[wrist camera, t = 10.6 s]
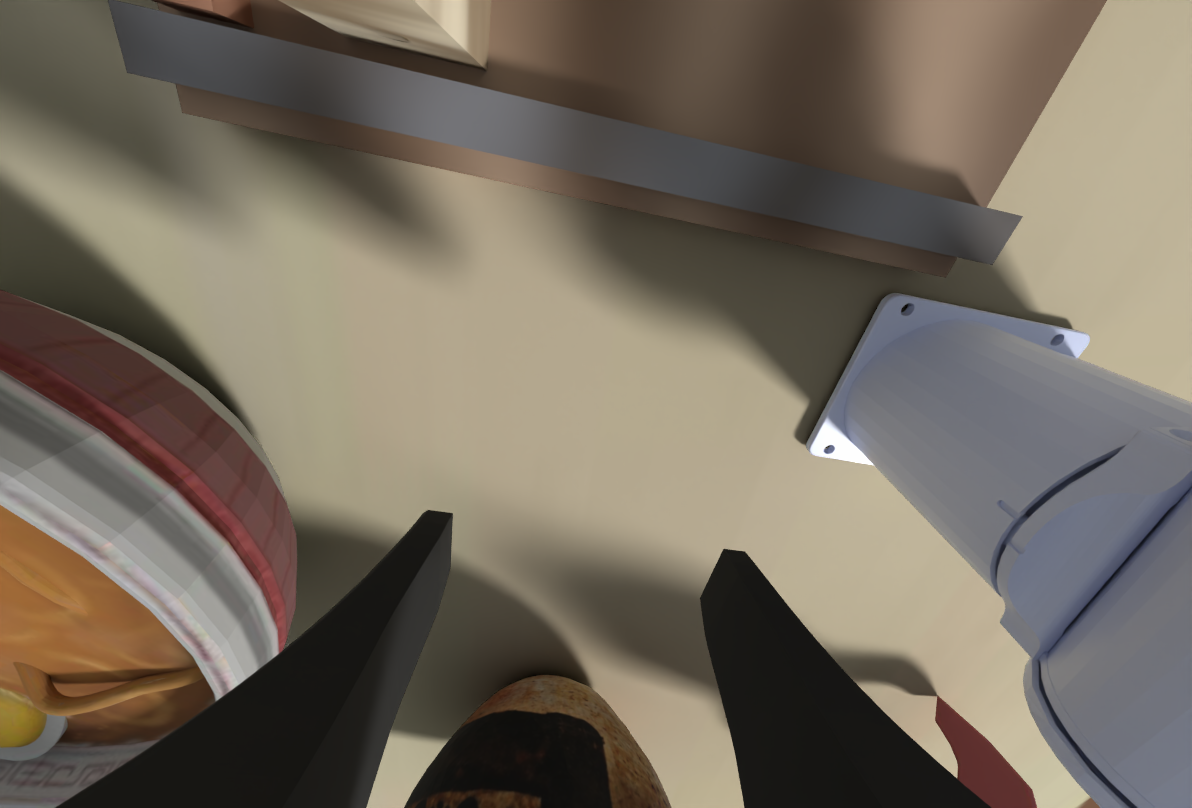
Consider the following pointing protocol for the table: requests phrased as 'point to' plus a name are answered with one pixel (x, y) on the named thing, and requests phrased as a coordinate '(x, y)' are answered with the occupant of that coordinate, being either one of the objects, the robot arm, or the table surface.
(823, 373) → the table surface
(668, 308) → the table surface
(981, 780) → the toy
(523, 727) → the ceramic vessel
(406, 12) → the block
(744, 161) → the board
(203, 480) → the bowl
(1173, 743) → the robot arm
